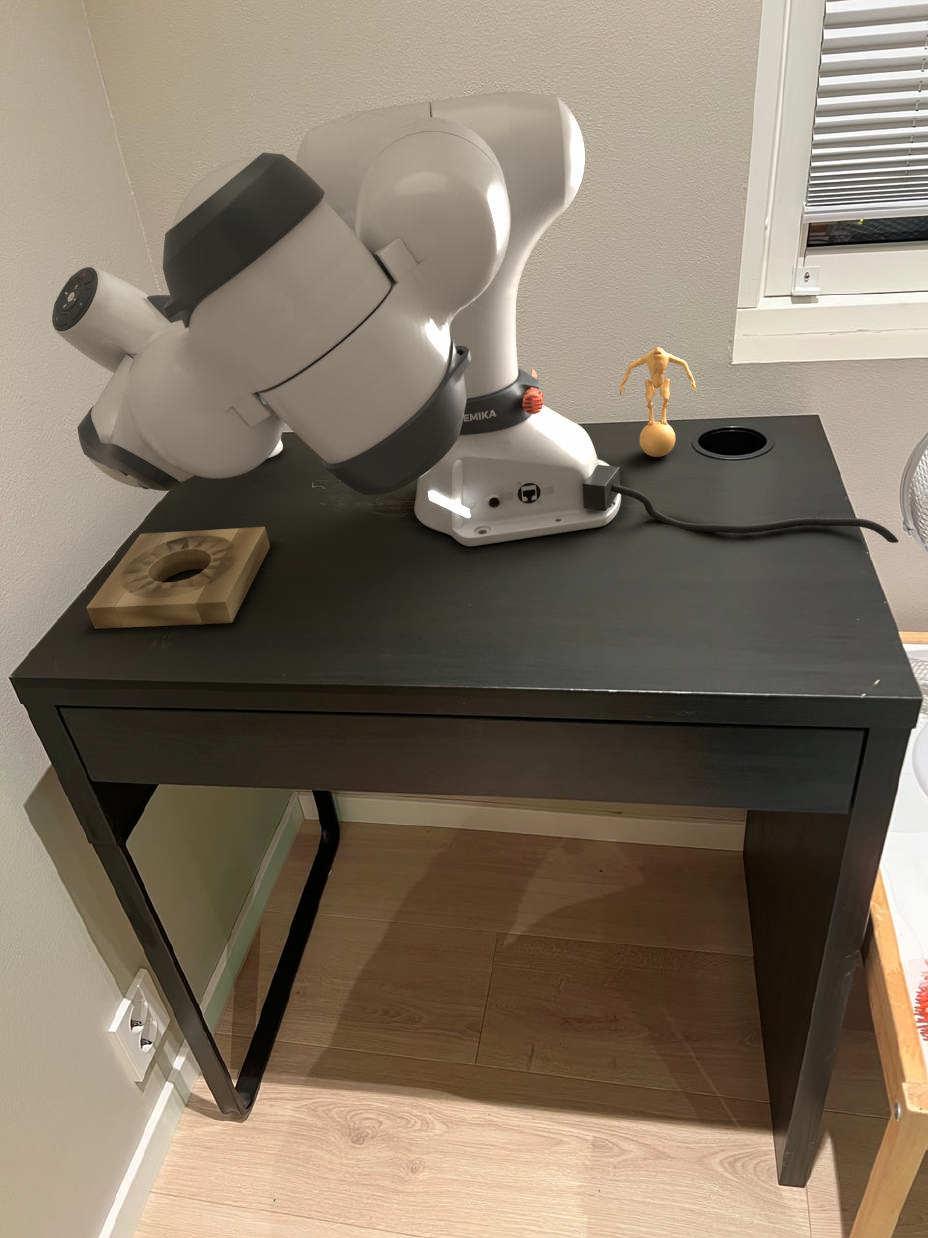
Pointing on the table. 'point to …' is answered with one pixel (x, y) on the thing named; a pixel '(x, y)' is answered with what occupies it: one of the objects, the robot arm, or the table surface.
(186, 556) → the socket pad
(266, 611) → the table surface
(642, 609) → the table surface
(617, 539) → the table surface
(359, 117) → the robot arm
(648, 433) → the figurine
